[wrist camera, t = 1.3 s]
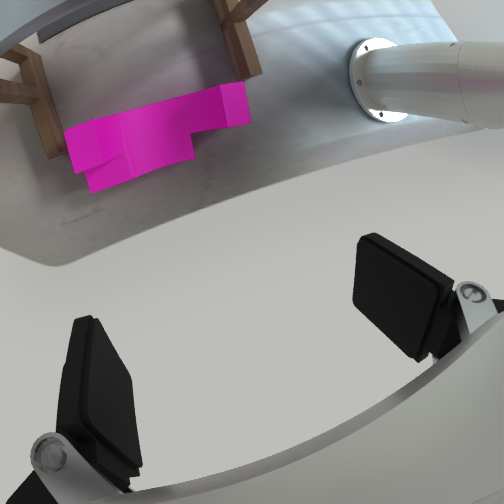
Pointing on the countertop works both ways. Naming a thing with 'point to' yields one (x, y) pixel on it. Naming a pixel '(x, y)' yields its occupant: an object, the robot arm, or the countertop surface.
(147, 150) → the toy block
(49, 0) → the tunnel
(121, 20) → the countertop surface
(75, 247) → the countertop surface
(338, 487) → the robot arm
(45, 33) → the dark grey flat bar
